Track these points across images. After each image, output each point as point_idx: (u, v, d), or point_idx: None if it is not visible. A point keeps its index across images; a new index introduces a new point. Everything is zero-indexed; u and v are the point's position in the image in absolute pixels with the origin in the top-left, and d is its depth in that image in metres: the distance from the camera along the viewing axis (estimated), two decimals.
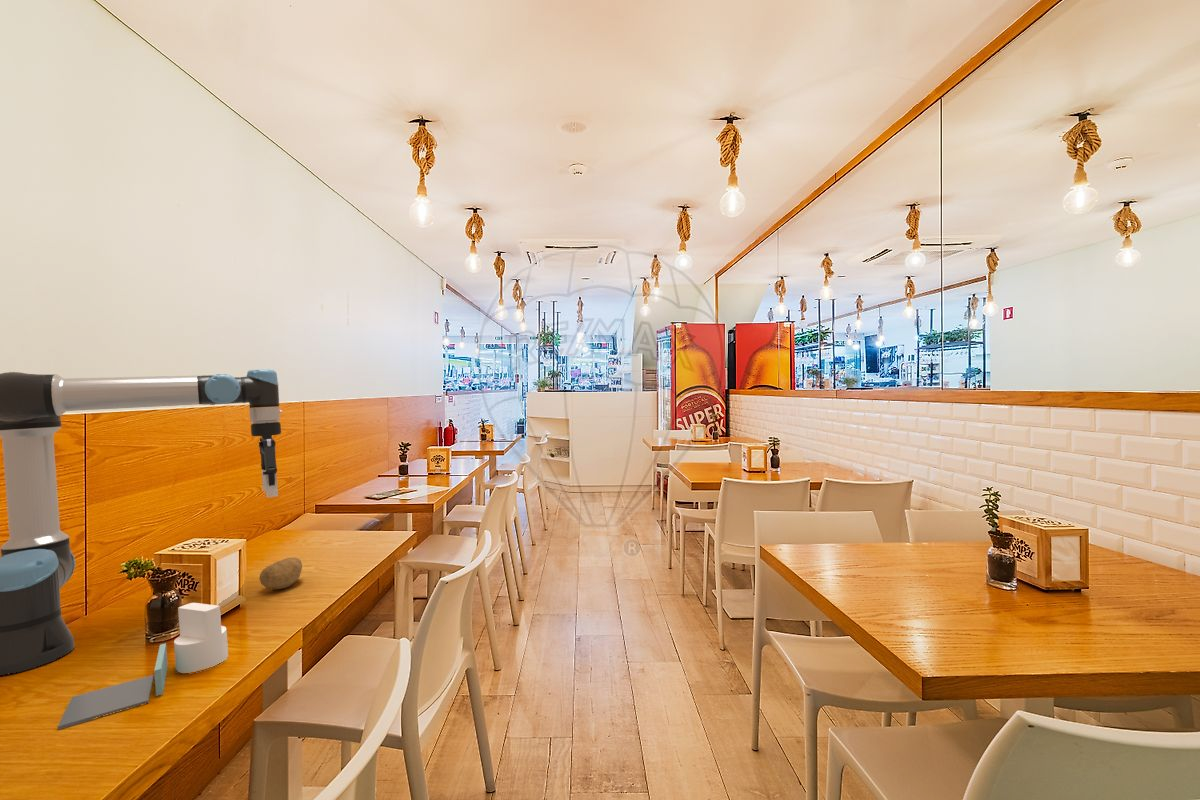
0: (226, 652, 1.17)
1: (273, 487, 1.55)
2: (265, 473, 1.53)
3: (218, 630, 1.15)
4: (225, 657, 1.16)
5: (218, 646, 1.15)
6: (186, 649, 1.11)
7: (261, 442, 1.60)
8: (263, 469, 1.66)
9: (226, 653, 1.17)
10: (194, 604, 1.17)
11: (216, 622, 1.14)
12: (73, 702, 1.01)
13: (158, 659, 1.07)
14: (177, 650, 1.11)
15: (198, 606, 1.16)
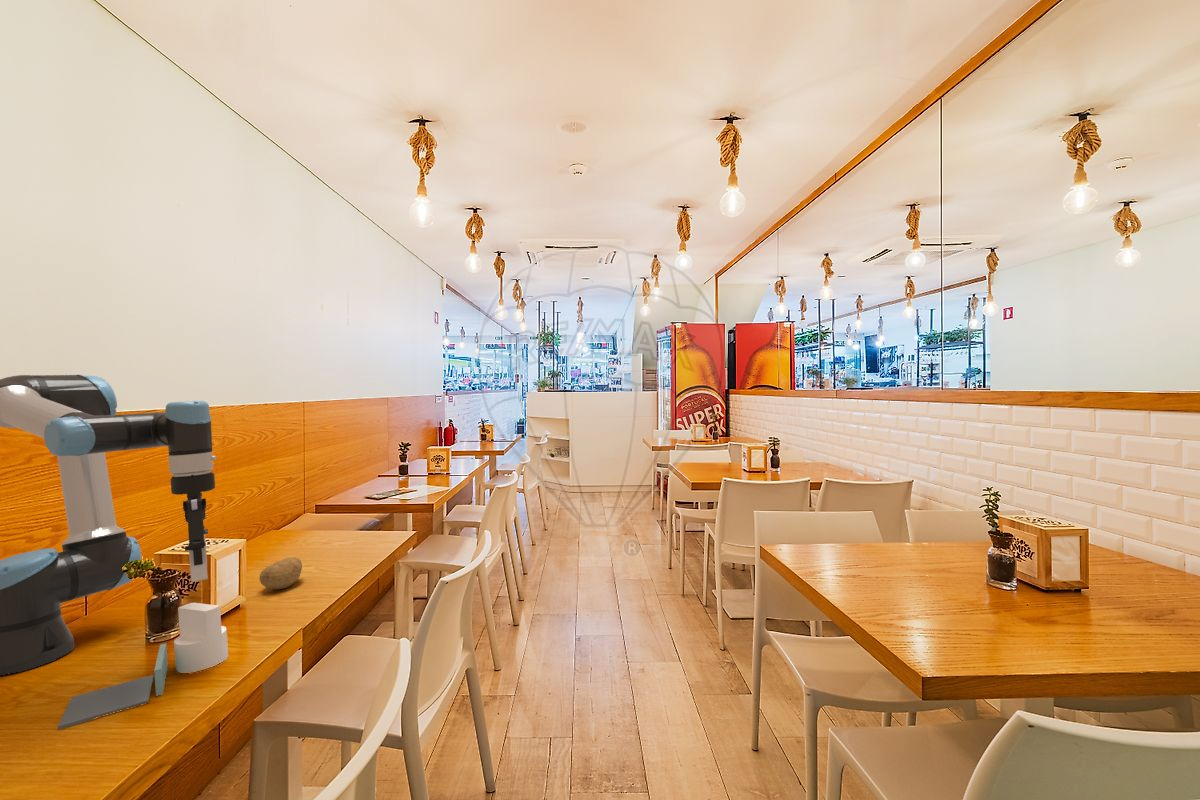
0: (226, 652, 1.17)
1: (200, 567, 1.11)
2: (188, 548, 1.09)
3: (218, 630, 1.15)
4: (225, 657, 1.16)
5: (218, 646, 1.15)
6: (186, 649, 1.11)
7: None
8: None
9: (226, 653, 1.17)
10: (194, 604, 1.17)
11: (216, 622, 1.14)
12: (73, 702, 1.01)
13: (158, 659, 1.07)
14: (177, 650, 1.11)
15: (198, 606, 1.16)
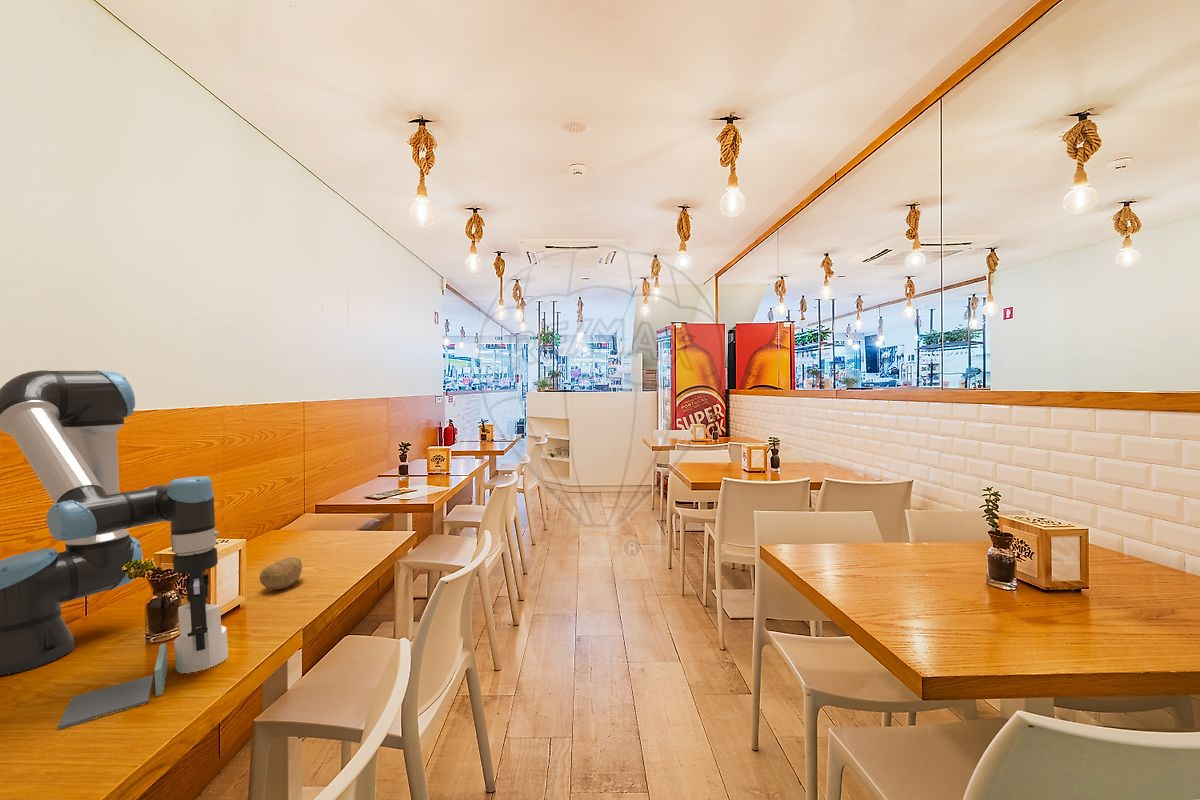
0: (226, 652, 1.17)
1: (203, 651, 1.11)
2: (190, 635, 1.10)
3: (218, 630, 1.15)
4: (225, 657, 1.16)
5: (218, 645, 1.14)
6: (186, 649, 1.11)
7: (189, 578, 1.15)
8: None
9: (226, 653, 1.17)
10: None
11: (216, 622, 1.14)
12: (73, 702, 1.01)
13: (158, 659, 1.07)
14: (177, 650, 1.11)
15: None
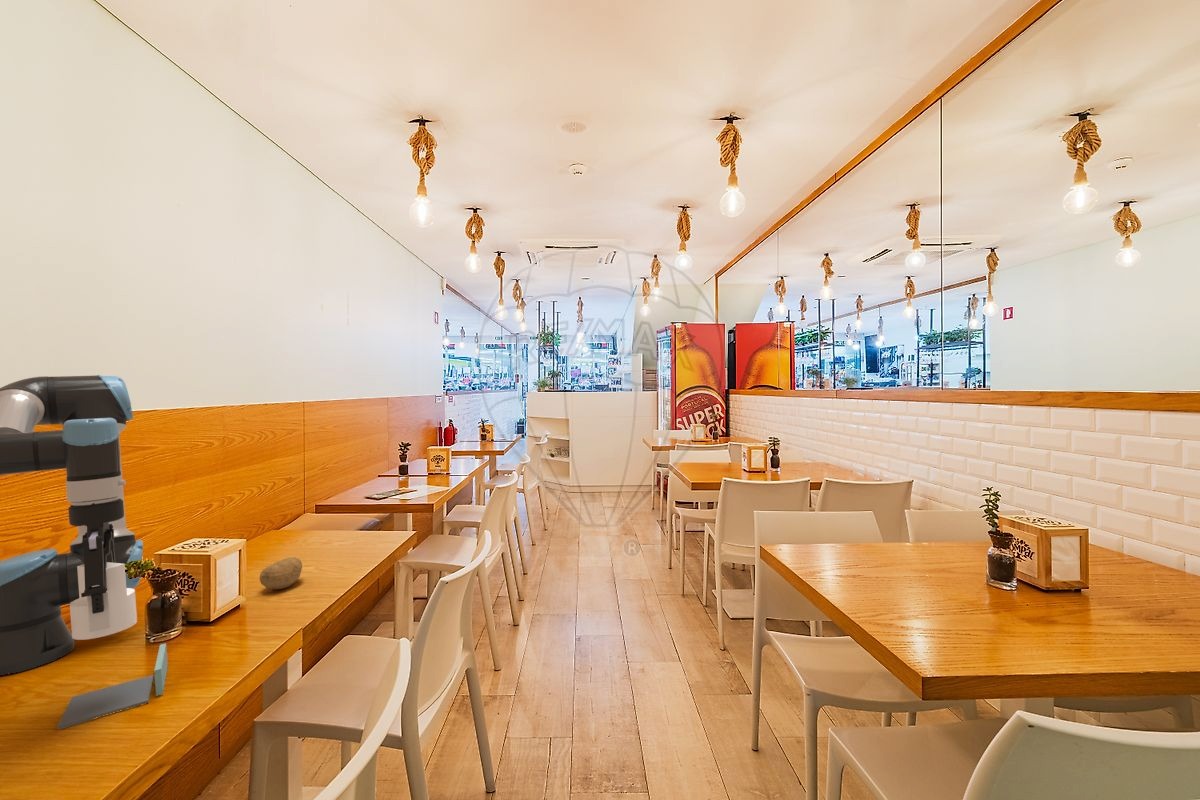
0: (133, 617, 1.03)
1: (101, 614, 0.98)
2: (85, 595, 0.96)
3: (122, 592, 1.01)
4: (131, 622, 1.02)
5: (122, 609, 1.01)
6: (82, 611, 0.97)
7: None
8: None
9: (133, 618, 1.03)
10: None
11: (119, 582, 1.00)
12: (73, 702, 1.01)
13: (158, 659, 1.07)
14: (72, 613, 0.97)
15: None
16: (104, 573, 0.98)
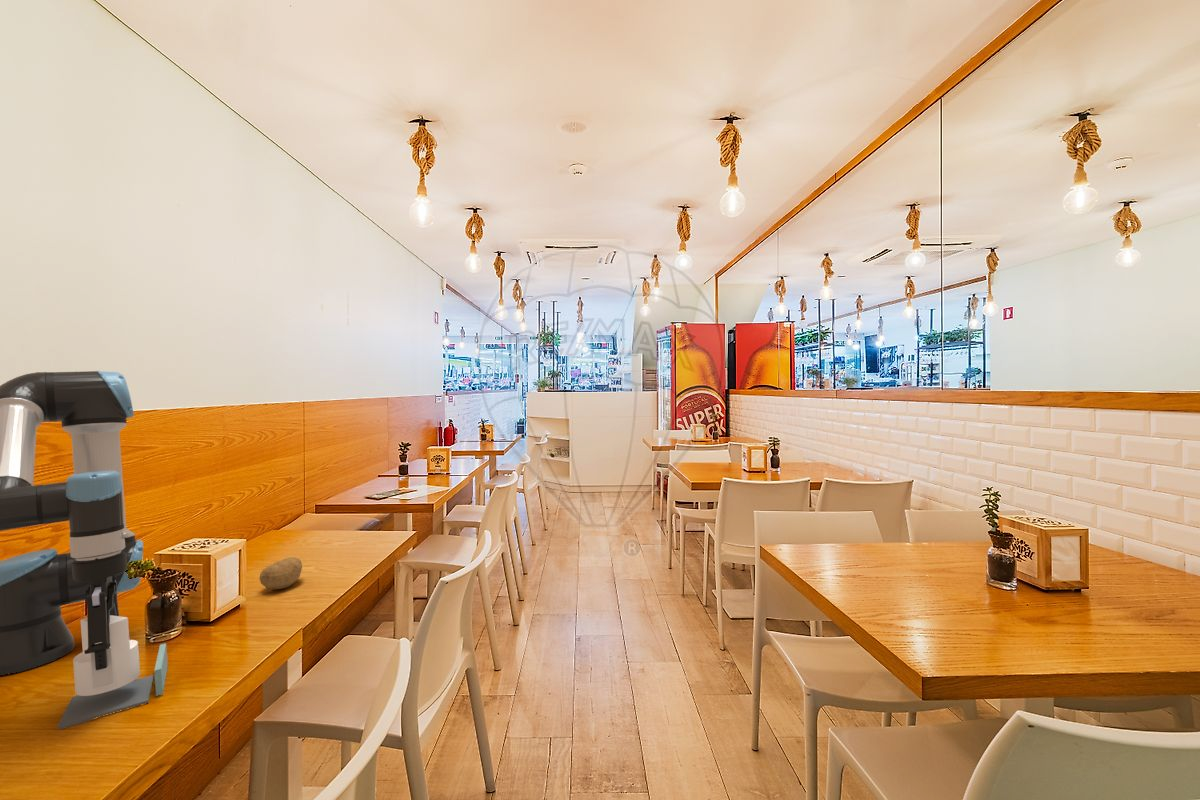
0: (136, 670, 1.03)
1: (105, 670, 0.98)
2: (89, 652, 0.96)
3: (126, 646, 1.01)
4: (135, 676, 1.02)
5: (125, 663, 1.01)
6: (85, 668, 0.97)
7: None
8: None
9: (136, 671, 1.03)
10: None
11: (123, 636, 1.00)
12: (73, 702, 1.01)
13: (158, 659, 1.07)
14: (76, 669, 0.98)
15: None
16: (107, 629, 0.98)
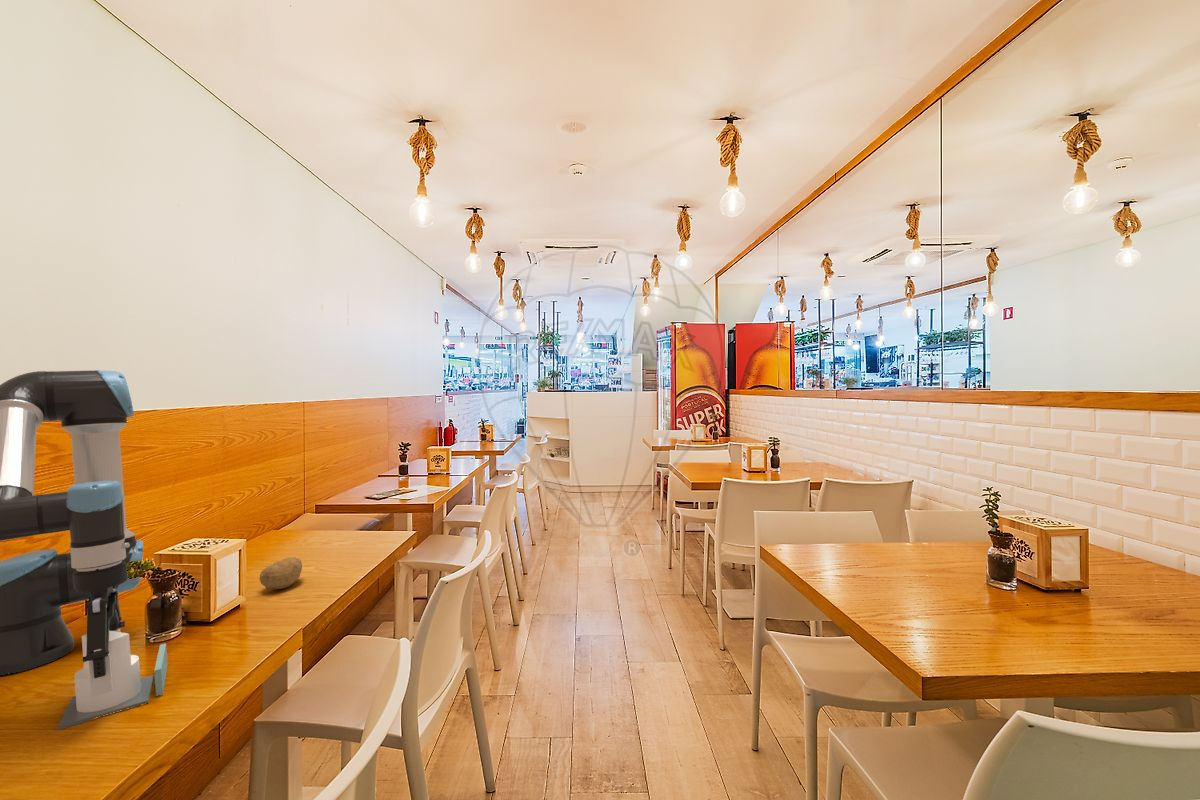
0: (137, 686, 1.03)
1: (103, 678, 0.96)
2: (87, 659, 0.94)
3: (127, 662, 1.01)
4: (136, 692, 1.02)
5: (126, 679, 1.01)
6: (86, 684, 0.97)
7: None
8: None
9: (137, 687, 1.03)
10: None
11: (124, 652, 1.01)
12: (73, 702, 1.01)
13: (158, 659, 1.07)
14: (77, 686, 0.98)
15: None
16: (106, 636, 0.97)
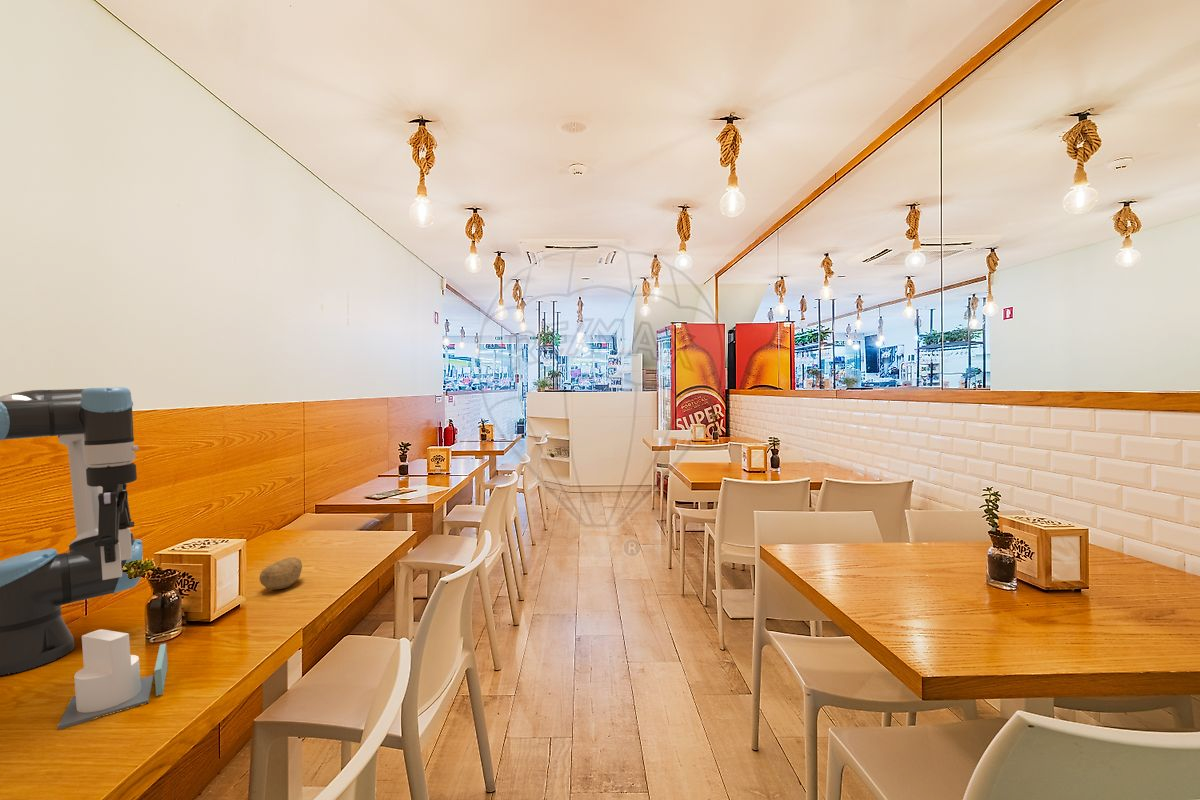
0: (137, 686, 1.03)
1: (113, 564, 1.04)
2: (98, 545, 1.02)
3: (127, 662, 1.01)
4: (136, 691, 1.02)
5: (126, 679, 1.01)
6: (86, 684, 0.97)
7: None
8: None
9: (137, 687, 1.03)
10: (101, 631, 1.03)
11: (124, 652, 1.01)
12: (73, 702, 1.01)
13: (158, 659, 1.07)
14: (77, 686, 0.98)
15: (104, 634, 1.02)
16: (116, 526, 1.05)
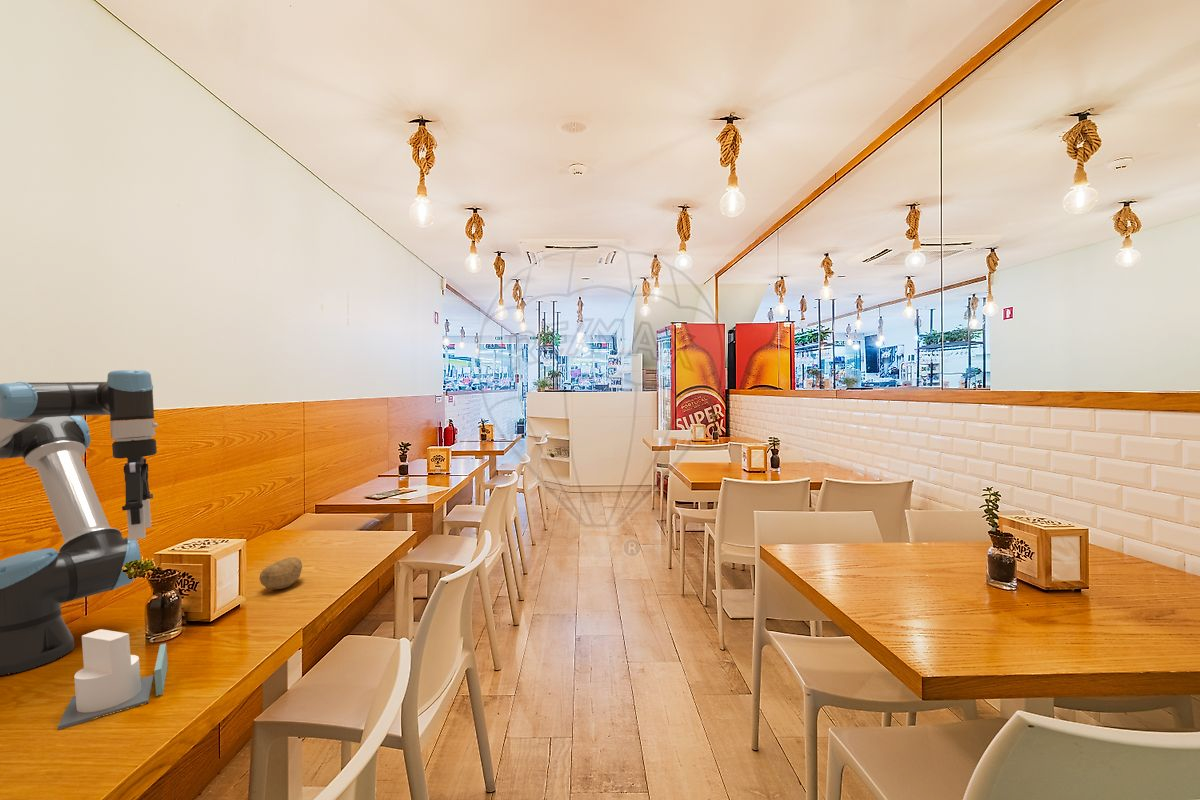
0: (137, 686, 1.03)
1: (138, 526, 1.17)
2: (125, 508, 1.15)
3: (127, 662, 1.01)
4: (136, 692, 1.02)
5: (126, 679, 1.01)
6: (86, 684, 0.97)
7: None
8: None
9: (137, 687, 1.03)
10: (101, 631, 1.03)
11: (124, 652, 1.01)
12: (73, 702, 1.01)
13: (158, 659, 1.07)
14: (77, 686, 0.98)
15: (104, 634, 1.02)
16: (141, 493, 1.18)
